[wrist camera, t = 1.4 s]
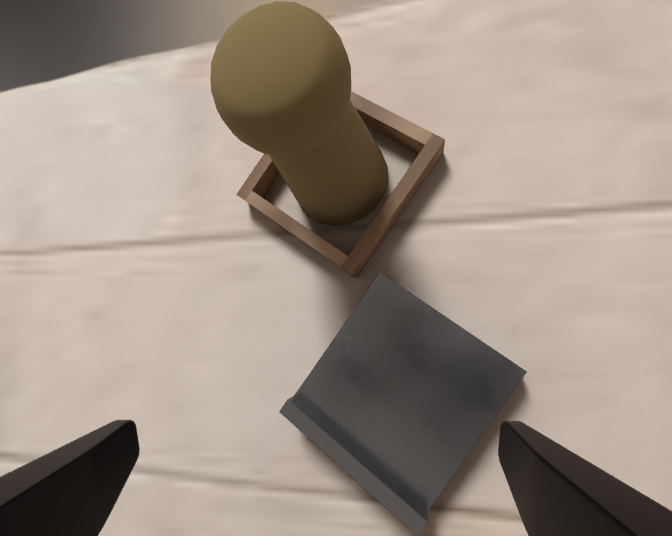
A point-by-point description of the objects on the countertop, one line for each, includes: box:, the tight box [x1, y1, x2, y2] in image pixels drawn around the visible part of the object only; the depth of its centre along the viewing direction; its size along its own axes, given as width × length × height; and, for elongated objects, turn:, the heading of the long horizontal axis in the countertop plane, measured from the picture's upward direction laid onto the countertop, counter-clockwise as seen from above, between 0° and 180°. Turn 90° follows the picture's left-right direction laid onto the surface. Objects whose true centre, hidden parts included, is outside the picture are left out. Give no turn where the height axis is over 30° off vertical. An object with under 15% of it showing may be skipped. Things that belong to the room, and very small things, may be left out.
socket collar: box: [237, 92, 445, 278], centre depth 21 cm, size 9×9×2 cm
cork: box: [211, 1, 388, 226], centre depth 17 cm, size 6×6×11 cm
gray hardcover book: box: [279, 273, 527, 536], centre depth 18 cm, size 8×9×2 cm
